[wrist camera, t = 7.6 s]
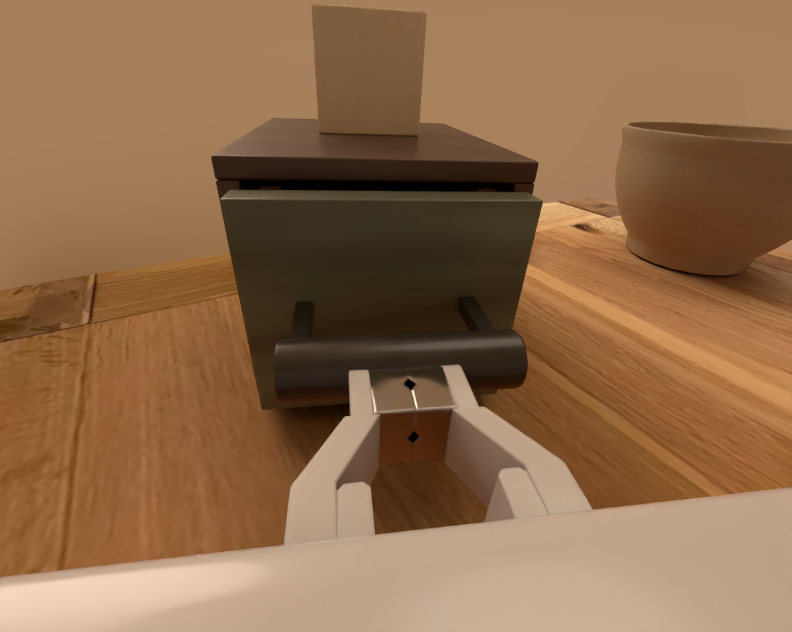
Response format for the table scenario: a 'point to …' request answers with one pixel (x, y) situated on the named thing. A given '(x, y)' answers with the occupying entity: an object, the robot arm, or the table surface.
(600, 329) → the table surface
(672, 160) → the planter bowl
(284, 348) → the drawer
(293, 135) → the cabinet
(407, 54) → the block
